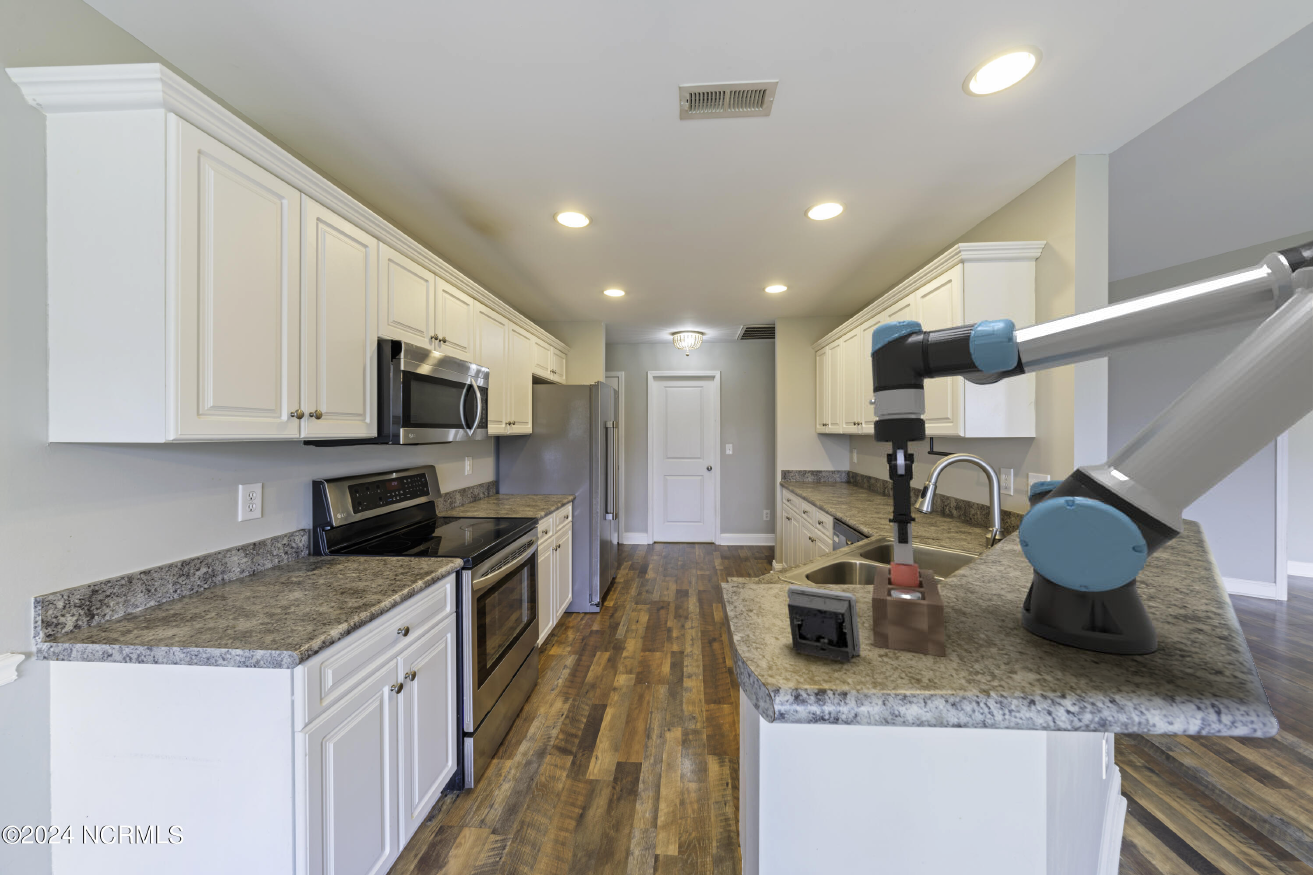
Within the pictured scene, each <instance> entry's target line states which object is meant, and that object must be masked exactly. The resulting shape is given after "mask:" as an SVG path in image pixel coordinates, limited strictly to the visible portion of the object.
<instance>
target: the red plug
mask: <svg viewBox="0 0 1313 875" xmlns="http://www.w3.org/2000/svg"><path fill="white" fill-rule="evenodd" d="M890 567H891V585H894V586H904V587H914V588H919V569H920V568H919V564H917V563H915V562H913V564H901V563H894V561H891V562H890Z"/></svg>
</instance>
